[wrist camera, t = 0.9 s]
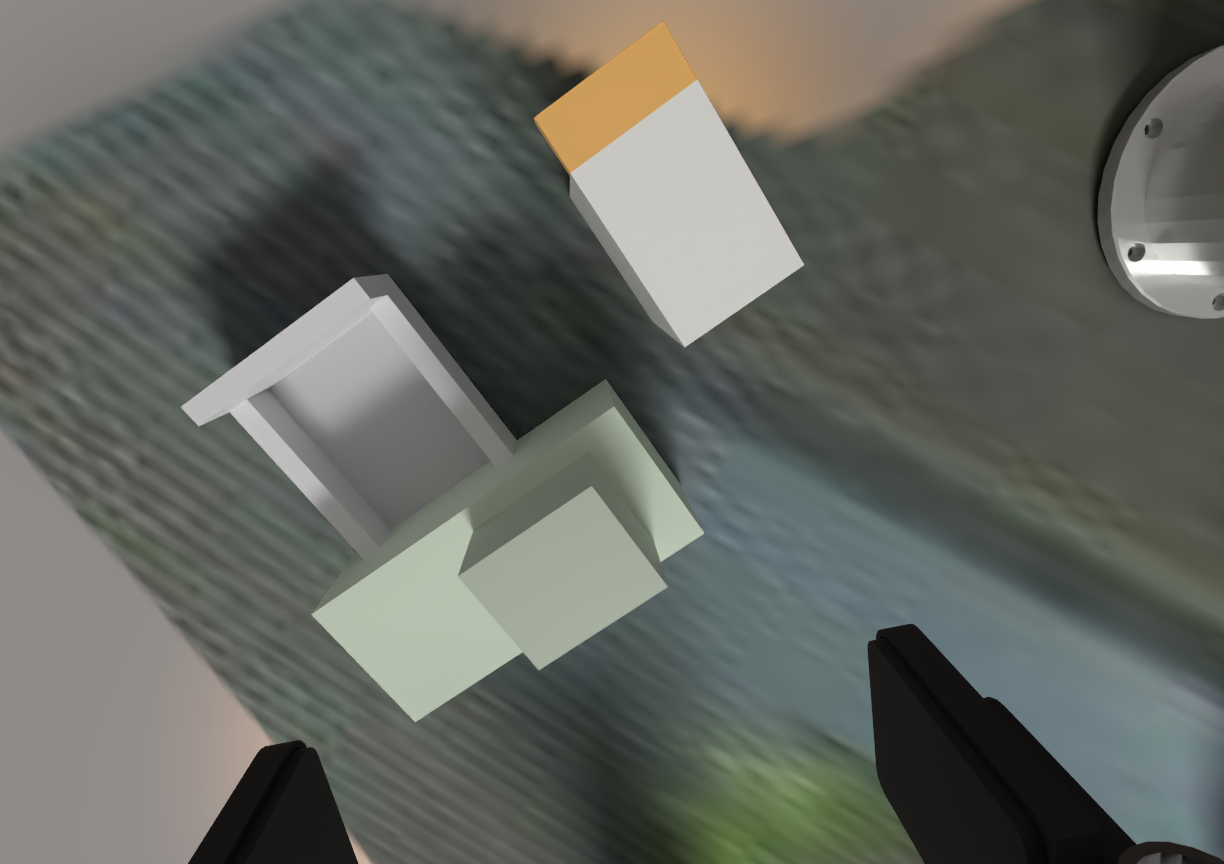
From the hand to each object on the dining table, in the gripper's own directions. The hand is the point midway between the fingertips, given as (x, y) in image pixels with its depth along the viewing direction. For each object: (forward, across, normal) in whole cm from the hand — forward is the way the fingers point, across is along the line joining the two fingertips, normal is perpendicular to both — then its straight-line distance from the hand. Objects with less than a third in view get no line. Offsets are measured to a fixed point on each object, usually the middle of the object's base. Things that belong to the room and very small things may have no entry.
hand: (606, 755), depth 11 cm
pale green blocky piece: (+23, +6, +1) cm, 24 cm away
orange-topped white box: (+23, -5, -8) cm, 25 cm away
